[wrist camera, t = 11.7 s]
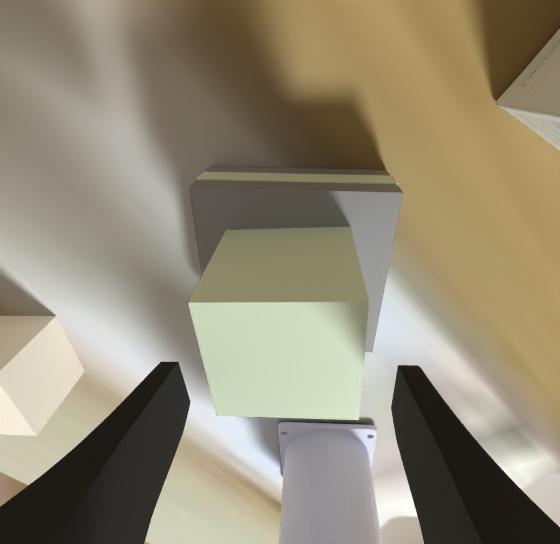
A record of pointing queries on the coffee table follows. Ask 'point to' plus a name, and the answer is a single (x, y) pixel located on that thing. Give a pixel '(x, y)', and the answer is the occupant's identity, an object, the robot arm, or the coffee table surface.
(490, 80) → the coffee table surface
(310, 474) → the robot arm
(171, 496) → the coffee table surface
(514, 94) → the supplement box
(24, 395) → the cream block
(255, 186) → the grey striped square box
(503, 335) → the coffee table surface
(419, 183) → the coffee table surface
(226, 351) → the sage block
